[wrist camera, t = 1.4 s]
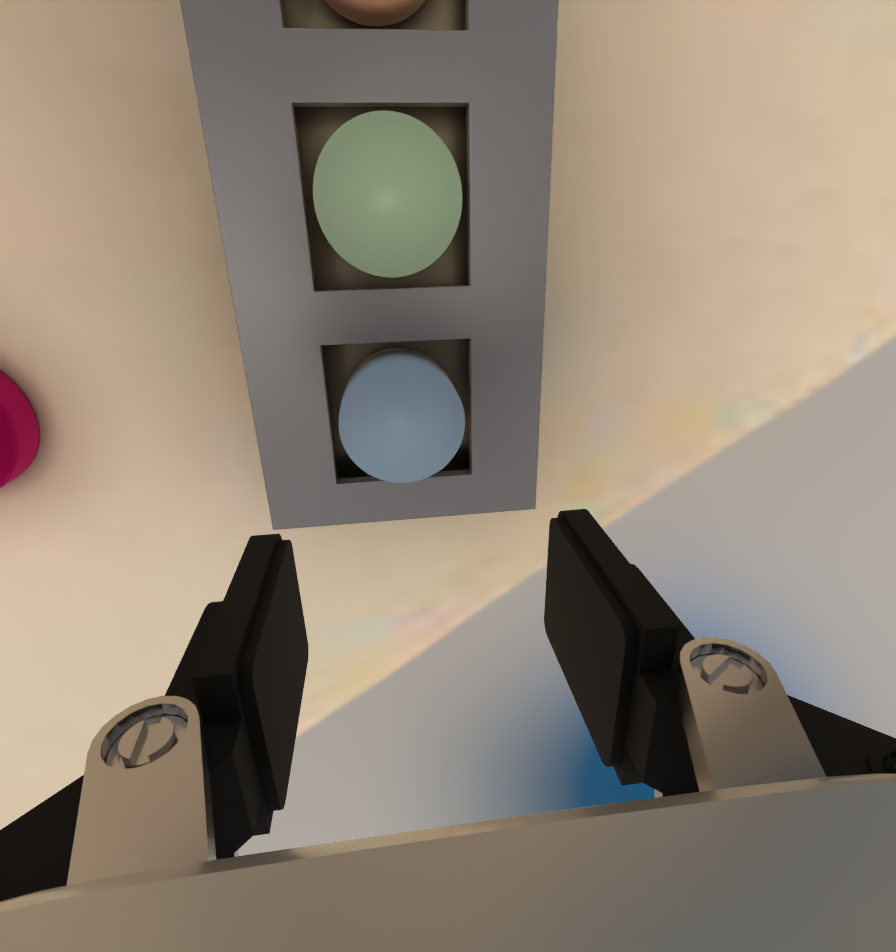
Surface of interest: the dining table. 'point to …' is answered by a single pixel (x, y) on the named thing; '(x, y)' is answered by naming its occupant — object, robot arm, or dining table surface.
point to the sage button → (387, 193)
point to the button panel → (381, 309)
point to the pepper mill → (15, 431)
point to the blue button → (400, 416)
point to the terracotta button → (375, 10)
